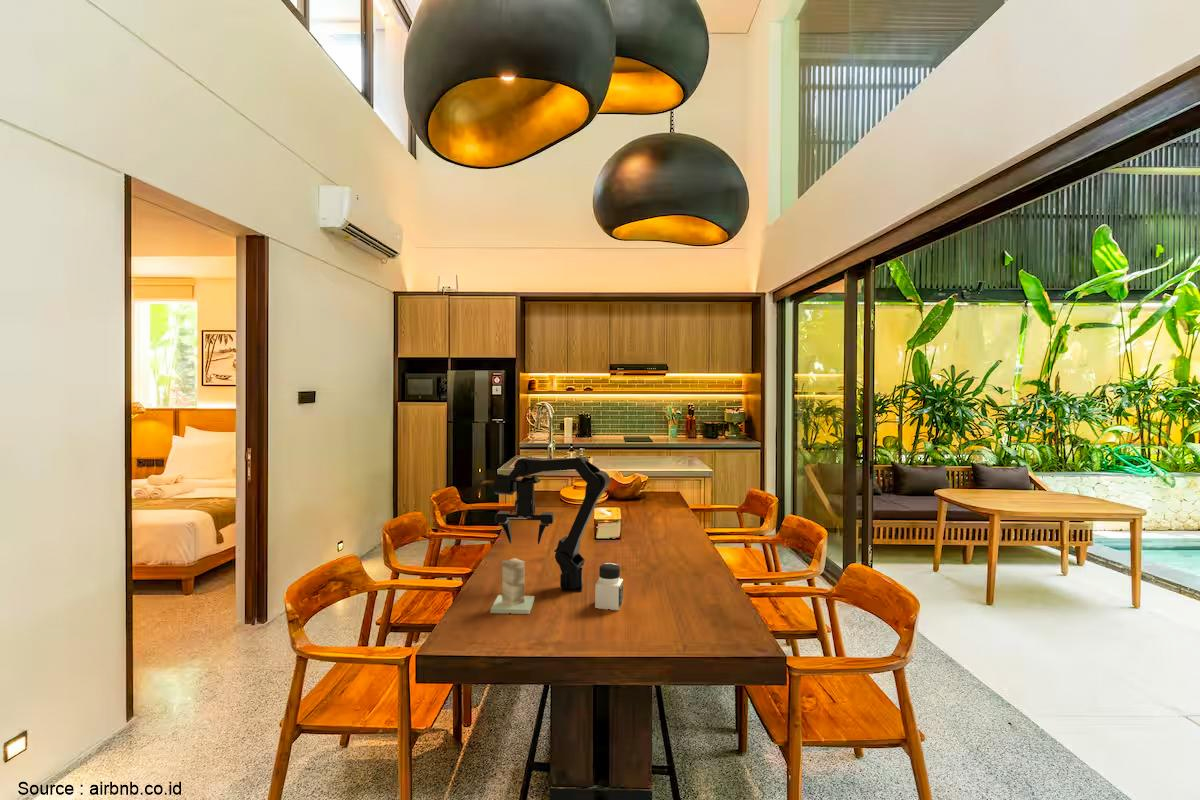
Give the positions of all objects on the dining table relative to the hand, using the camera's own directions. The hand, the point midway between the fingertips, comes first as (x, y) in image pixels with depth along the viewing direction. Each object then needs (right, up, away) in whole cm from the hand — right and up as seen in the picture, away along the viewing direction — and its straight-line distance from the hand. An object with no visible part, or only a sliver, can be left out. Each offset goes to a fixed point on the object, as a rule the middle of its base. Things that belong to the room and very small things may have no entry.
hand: (524, 543), depth 189 cm
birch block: (-1, -12, -20) cm, 24 cm away
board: (-1, -13, -20) cm, 24 cm away
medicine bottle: (+27, -14, -19) cm, 36 cm away
